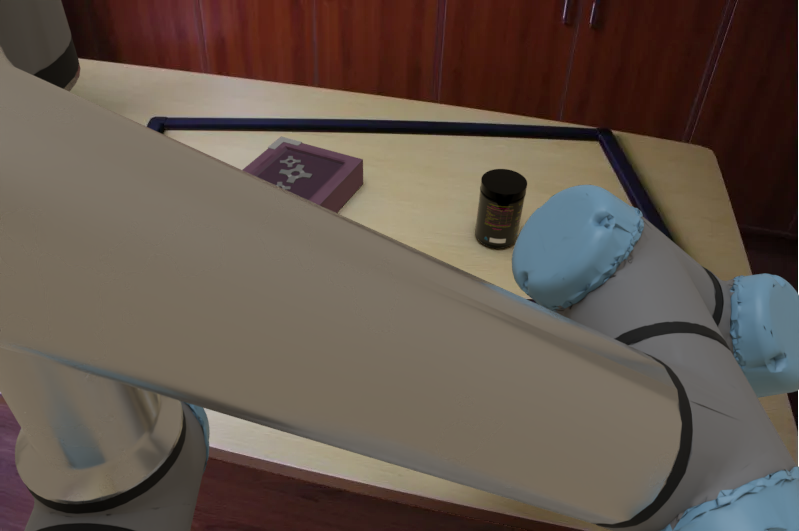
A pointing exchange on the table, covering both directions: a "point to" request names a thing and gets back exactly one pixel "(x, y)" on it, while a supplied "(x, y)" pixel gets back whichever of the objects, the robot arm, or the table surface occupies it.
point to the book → (309, 172)
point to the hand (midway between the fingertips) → (420, 390)
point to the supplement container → (500, 207)
